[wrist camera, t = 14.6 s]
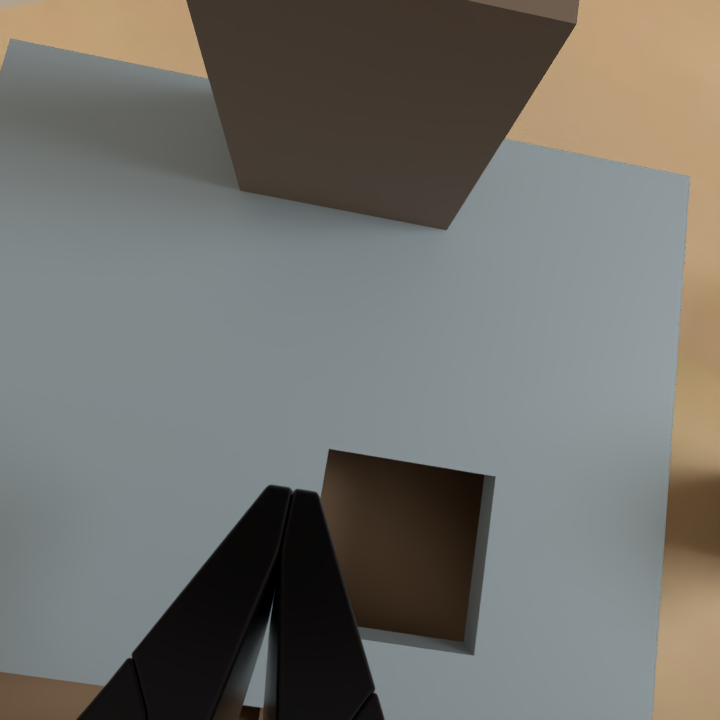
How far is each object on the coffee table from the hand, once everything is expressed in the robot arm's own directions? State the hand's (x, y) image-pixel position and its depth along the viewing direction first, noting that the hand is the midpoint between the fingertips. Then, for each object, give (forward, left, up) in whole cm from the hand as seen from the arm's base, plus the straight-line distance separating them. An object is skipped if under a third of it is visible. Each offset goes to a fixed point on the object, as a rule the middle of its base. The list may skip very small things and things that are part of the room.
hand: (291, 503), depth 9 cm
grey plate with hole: (+3, 0, -6) cm, 7 cm away
